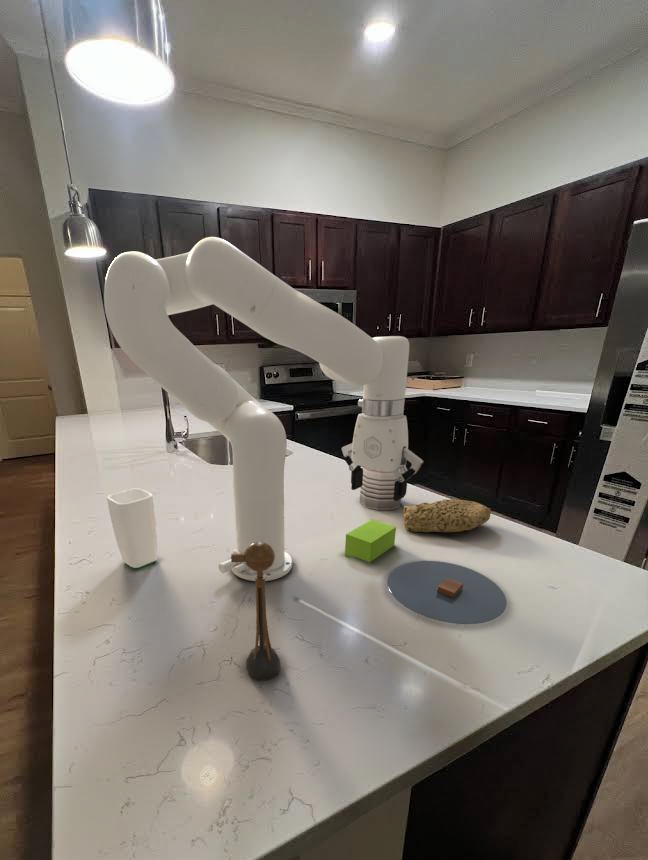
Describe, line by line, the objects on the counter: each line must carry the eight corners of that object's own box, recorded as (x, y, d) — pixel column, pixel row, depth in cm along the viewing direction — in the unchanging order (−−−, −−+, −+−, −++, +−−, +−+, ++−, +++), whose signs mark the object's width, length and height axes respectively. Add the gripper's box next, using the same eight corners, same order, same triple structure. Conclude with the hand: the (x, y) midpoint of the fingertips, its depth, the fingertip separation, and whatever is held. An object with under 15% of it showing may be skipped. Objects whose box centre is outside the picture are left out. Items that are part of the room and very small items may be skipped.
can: (410, 504, 114) (415, 461, 109) (381, 514, 108) (385, 469, 103) (378, 492, 123) (382, 452, 118) (350, 501, 117) (352, 459, 112)
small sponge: (369, 564, 85) (371, 543, 83) (344, 555, 89) (345, 534, 87) (394, 547, 91) (396, 526, 89) (370, 539, 95) (371, 519, 93)
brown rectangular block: (453, 598, 73) (454, 592, 72) (436, 592, 75) (437, 586, 74) (462, 589, 75) (463, 583, 75) (446, 582, 77) (447, 577, 77)
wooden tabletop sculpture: (238, 680, 57) (229, 552, 49) (239, 656, 62) (232, 534, 54) (281, 679, 57) (279, 550, 49) (279, 655, 62) (277, 533, 54)
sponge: (406, 542, 96) (502, 533, 90) (402, 509, 94) (499, 498, 89) (403, 528, 108) (488, 519, 103) (400, 499, 107) (485, 488, 101)
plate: (480, 644, 63) (481, 641, 63) (366, 593, 76) (366, 590, 76) (521, 589, 76) (522, 586, 76) (417, 553, 89) (418, 550, 89)
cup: (147, 549, 93) (137, 486, 87) (165, 561, 88) (155, 495, 82) (116, 561, 88) (103, 496, 82) (133, 574, 83) (120, 505, 77)
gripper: (333, 406, 81) (331, 489, 88) (417, 415, 70) (407, 509, 77) (355, 401, 86) (351, 479, 93) (436, 409, 75) (426, 497, 82)
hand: (377, 493), depth 85 cm, fingers open, 9 cm apart
